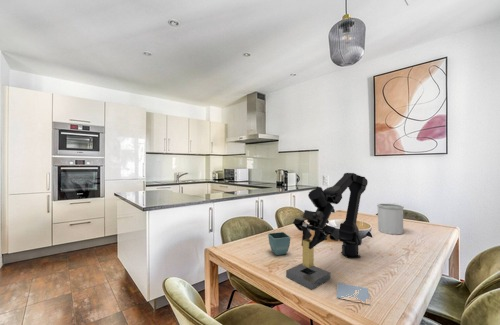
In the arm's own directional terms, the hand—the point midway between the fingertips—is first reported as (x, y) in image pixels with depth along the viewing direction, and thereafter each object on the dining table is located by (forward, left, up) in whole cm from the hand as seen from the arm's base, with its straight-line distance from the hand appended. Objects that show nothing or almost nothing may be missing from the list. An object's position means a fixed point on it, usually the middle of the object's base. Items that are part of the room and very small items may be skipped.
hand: (305, 247), depth 88 cm
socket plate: (-1, -1, -12) cm, 12 cm away
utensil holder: (-75, -54, -13) cm, 93 cm away
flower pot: (+5, -26, -13) cm, 29 cm away
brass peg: (-1, -1, -8) cm, 8 cm away
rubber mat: (-13, +11, -12) cm, 21 cm away
